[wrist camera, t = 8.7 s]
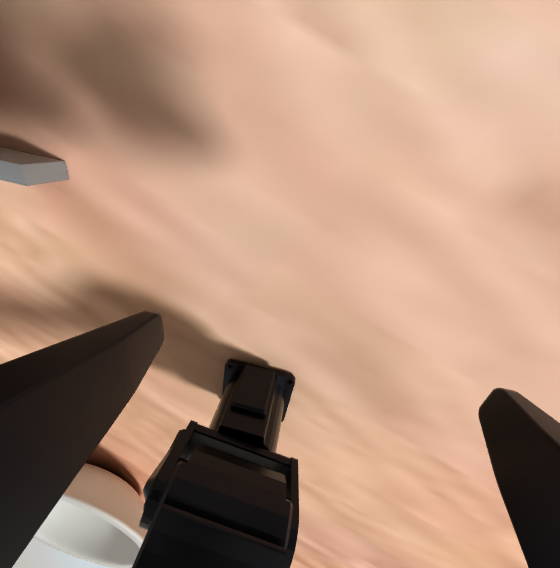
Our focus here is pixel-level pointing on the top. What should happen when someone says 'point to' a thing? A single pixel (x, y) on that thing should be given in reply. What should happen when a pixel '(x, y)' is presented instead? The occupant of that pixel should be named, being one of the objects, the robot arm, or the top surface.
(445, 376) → the top surface
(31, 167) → the corral
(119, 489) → the soup bowl
